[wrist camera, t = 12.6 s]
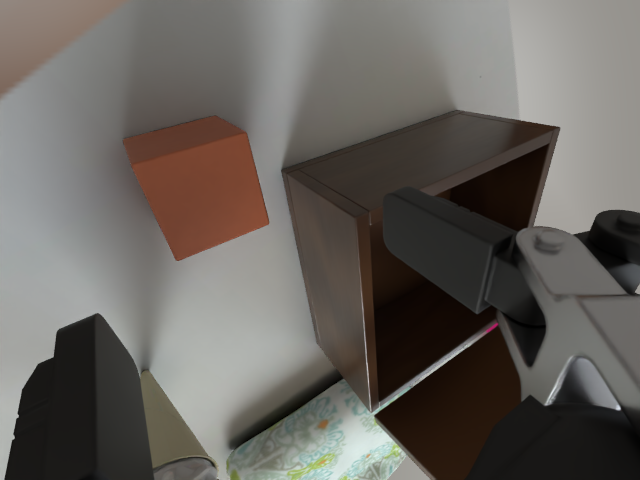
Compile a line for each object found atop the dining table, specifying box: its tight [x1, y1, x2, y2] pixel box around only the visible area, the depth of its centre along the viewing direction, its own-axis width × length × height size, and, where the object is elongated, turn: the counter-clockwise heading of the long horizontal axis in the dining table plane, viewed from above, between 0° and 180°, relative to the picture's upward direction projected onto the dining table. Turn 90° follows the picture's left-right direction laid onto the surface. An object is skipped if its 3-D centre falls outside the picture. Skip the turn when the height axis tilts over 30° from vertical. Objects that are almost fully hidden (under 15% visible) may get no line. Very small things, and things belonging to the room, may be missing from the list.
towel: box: [226, 379, 411, 480], centre depth 36 cm, size 18×21×5 cm
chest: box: [282, 110, 560, 413], centre depth 25 cm, size 17×16×8 cm
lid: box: [374, 325, 622, 480], centre depth 19 cm, size 17×16×5 cm
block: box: [123, 116, 269, 261], centre depth 16 cm, size 5×5×5 cm
